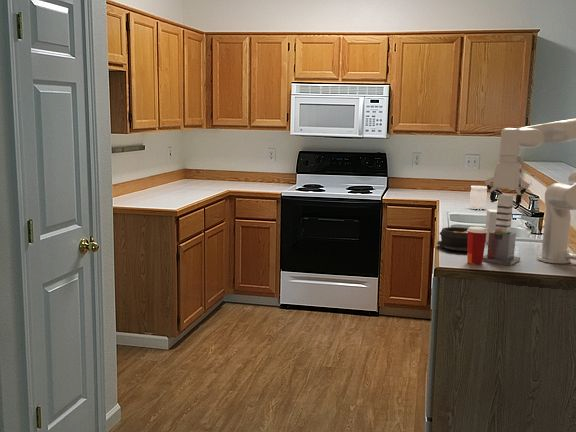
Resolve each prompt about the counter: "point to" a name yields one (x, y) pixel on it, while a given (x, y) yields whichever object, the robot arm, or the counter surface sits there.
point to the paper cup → (476, 245)
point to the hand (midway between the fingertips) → (505, 203)
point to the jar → (478, 196)
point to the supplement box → (490, 222)
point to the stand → (501, 249)
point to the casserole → (454, 238)
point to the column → (504, 214)
